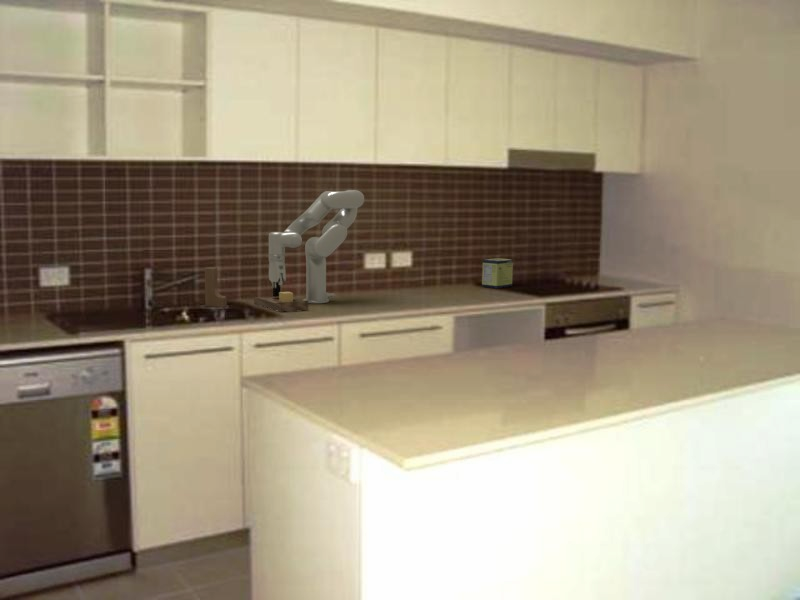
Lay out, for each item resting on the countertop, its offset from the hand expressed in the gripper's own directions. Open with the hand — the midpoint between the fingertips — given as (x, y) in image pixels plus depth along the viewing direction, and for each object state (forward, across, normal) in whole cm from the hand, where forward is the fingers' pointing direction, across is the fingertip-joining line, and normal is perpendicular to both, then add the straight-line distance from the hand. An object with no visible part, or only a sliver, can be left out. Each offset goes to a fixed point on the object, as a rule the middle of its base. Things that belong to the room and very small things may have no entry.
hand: (276, 296), depth 420 cm
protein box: (+3, +5, -138) cm, 139 cm away
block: (+1, -9, -1) cm, 9 cm away
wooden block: (+4, +5, +29) cm, 29 cm away
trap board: (+4, -10, +3) cm, 11 cm away
